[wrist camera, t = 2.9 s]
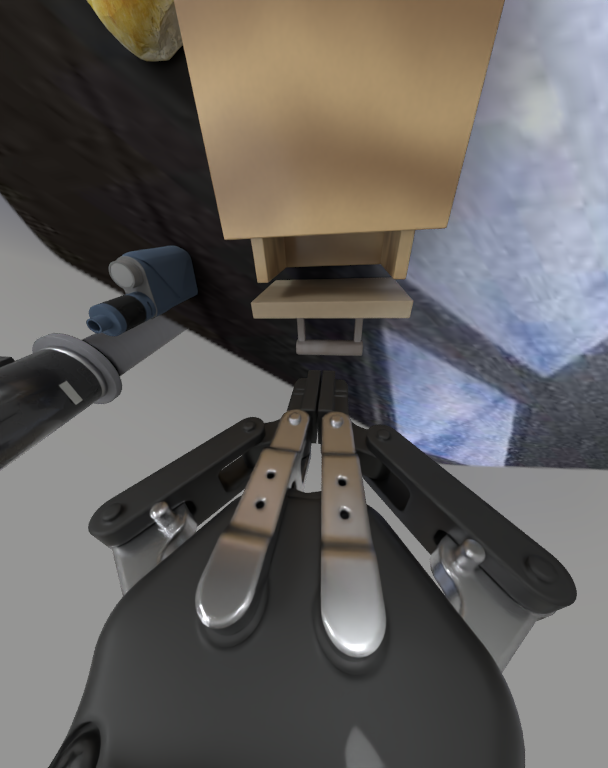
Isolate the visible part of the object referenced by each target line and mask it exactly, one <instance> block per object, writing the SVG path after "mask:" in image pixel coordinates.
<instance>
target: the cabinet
mask: <svg viewBox="0 0 608 768" xmlns="http://www.w3.org/2000/svg"><path fill="white" fill-rule="evenodd" d="M504 2H505V0H174V4H175V8H176V13H177V18H178V23H179V27H180V32H181V37H182V41H183V46H184V51H185V56H186V60H187V65H188V70H189V74H190V79H191V84H192V89H193V93H194V98H195V103H196V107H197V112H198V117H199V122H200V126H201V131H202V136H203V140H204V145H205V150H206V154H207V159H208V164H209V169H210V173H211V178H212V183H213V187H214V192H215V197H216V202H217V206H218V211H219V216H220V220H221V225H222V230H223V235H224V239H225V240H234V239H253V238H272V237H291V236H310V235H329V234H348V233H367V232H385V231H404V230H423V229H442V228H446V227H447V224H448V220H449V216H450V212H451V208H452V205H453V201H454V197H455V193H456V189H457V185H458V181H459V177H460V173H461V169H462V166H463V162H464V158H465V154H466V150H467V146H468V142H469V138H470V134H471V130H472V127H473V123H474V119H475V115H476V111H477V107H478V103H479V99H480V95H481V91H482V88H483V84H484V80H485V76H486V72H487V68H488V64H489V60H490V56H491V52H492V49H493V45H494V41H495V37H496V33H497V29H498V25H499V21H500V17H501V13H502V10H503V6H504Z"/></svg>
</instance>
